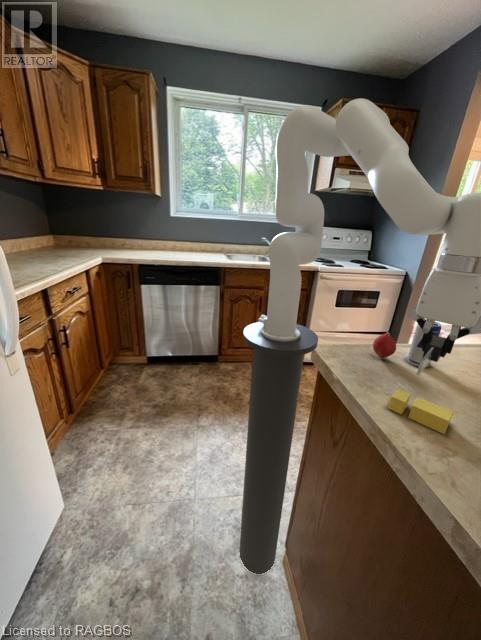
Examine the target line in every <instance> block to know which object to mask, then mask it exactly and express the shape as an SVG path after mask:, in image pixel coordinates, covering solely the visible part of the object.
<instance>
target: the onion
mask: <svg viewBox="0 0 481 640" xmlns="http://www.w3.org/2000/svg"><path fill="white" fill-rule="evenodd" d="M372 349H373V351H374V353H375V354H376V356H378V357H379V358H380V359H386V358H388V357H390V356H393V355H394V354H395V352H396V351H397V342H396V340H395V338H393V336H391V333H390V332H388V331H387V332H386V333H383V334H381V335H379V336H377V337H376V338H375V339H374V341H373V343H372Z"/></svg>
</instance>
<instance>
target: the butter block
mask: <svg viewBox="0 0 481 640" xmlns="http://www.w3.org/2000/svg"><path fill="white" fill-rule="evenodd" d="M453 414H454V411H453V410H450V409H449V408H445V407H444V406H440V405H439V404H436V403H433V402H431V401H428V400H426V399H424V398H422V397H419V396H417V398H416V399H415V400H414V401H413V403H412V405H411V408H410V411H409V414H408V419H410V420H412V421H414V422H417V423H419V424H421V425H423V426H424V427H427V428H429V429H432V430H433V431H436V432H438V433H440V434H443V435H445V434H446V432H447V429H448V427H449V424H450V422H451V420H452V416H453Z"/></svg>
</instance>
